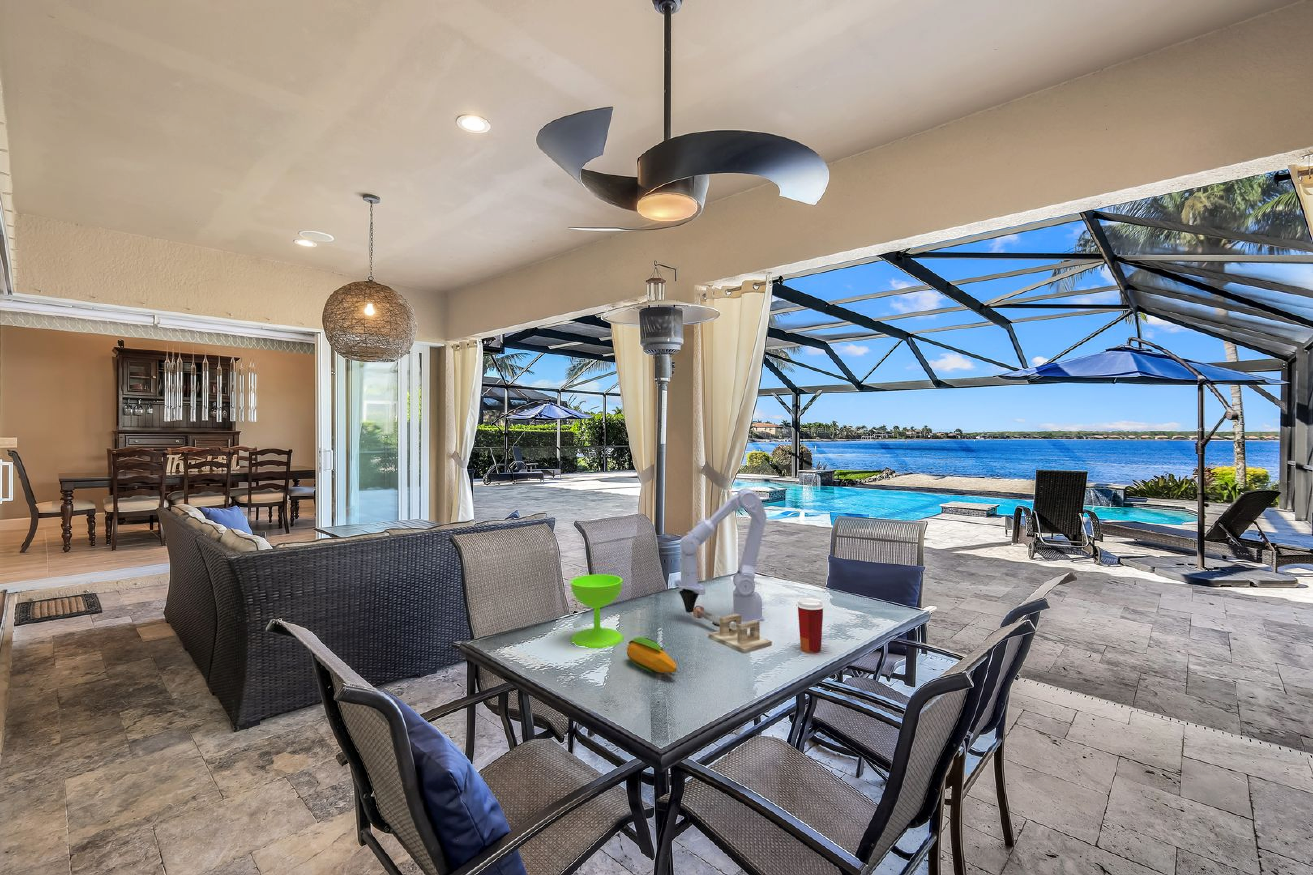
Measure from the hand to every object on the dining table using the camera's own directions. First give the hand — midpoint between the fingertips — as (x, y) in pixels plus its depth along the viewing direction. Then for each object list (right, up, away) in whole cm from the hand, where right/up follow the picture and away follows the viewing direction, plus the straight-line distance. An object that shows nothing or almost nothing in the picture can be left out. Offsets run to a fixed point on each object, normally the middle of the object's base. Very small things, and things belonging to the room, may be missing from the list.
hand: (689, 611), depth 191 cm
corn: (-12, -3, -41) cm, 43 cm away
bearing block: (+14, -3, -20) cm, 25 cm away
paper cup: (+33, -3, -28) cm, 43 cm away
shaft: (+8, -1, -11) cm, 14 cm away
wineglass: (-29, -3, -17) cm, 34 cm away
